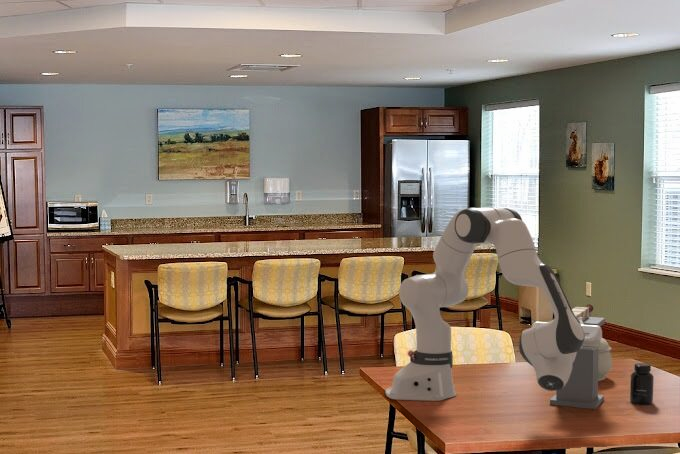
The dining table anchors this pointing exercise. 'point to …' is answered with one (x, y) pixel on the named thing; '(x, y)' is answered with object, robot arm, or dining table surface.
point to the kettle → (602, 354)
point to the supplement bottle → (641, 385)
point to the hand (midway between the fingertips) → (570, 318)
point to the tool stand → (582, 378)
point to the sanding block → (581, 312)
